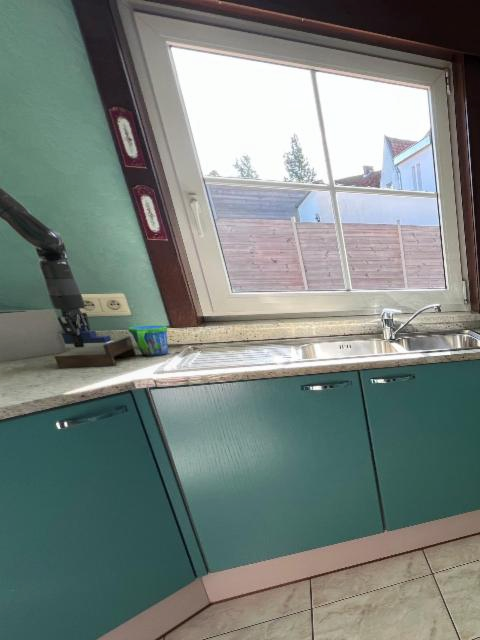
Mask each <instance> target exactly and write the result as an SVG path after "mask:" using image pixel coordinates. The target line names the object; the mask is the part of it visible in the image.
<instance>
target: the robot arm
mask: <svg viewBox="0 0 480 640" xmlns="http://www.w3.org/2000/svg"><path fill="white" fill-rule="evenodd" d="M0 220H2V221H3V222H4V223H6V224H7V225H8V226H10V227H11V229H12V230H14V231H15V233H16V234H18V235H19V236H20V237H21V238H23V239H24V240H25V241H26V242H28V244H30V245H31V246H33V247H34V248H35V251H36V254H37V257H38V267H39V270H40V274H41V276H42V278H43V283H44V287H45V290H46V293H47V296H48V299H49V300H50V303H51V306H52V308H53V309H55V310H60V311H61V312H60V313H61V316H58V317H57V320H58V322H59V325H60V326H61V328H62V330H63V332H65V334H66V335H69V336H71V338H72V341H73V344H74V346H75V347H74V348H79V347H84V344H83V341H82V338H81V336H80V331H91V327H90V322H89V318H88V314H87V312H82V311H81V309H85V308H86V304H85V301H84V298H83V296H82V292H81V290H80V287H79V284H78V283H77V280H76V279H75V275H74V272H73V270H72V268H71V265H70V261H69V259H68V253H67V248H66V245H65V241H64V239H63V237H62V236H61V234H60V233H59V232H58V231H56V230H55V229H54V228H51V227H48V226H47V225H45V224H44V223H43V222H41V220H39V219H38V218H36V216H34V215H33V214H32V213H31V211H30V210H29V209H28V208H27V207H26V206H25V205H23V203H21V202H20V201H18V200H17V198H15V197H14V196H13V195H11V193H9V192H8V191H6V189H4V188H3V187H1V186H0Z"/></svg>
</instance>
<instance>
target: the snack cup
mask: <svg viewBox="0 0 480 640" xmlns="http://www.w3.org/2000/svg"><path fill="white" fill-rule="evenodd" d="M167 331H168V327H167V326H166V325H159V324H155V325H154V324H152V325H151V324H149V325H136V326H131V327H128V332H129V333H130V334H131V335H132V337H133V339H134V341H135V343H136V345H137V347H138V349H139V351H140V353H141V354H142V356H145V357H146V356H147V357H154V356H155V357H158V356H164V355H167V354H168V353H169V345H168V334H167Z"/></svg>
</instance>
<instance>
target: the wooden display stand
mask: <svg viewBox="0 0 480 640" xmlns="http://www.w3.org/2000/svg"><path fill="white" fill-rule="evenodd" d="M112 341H113V342H110V343H108V344H105V345H103V346H100V347H75V348H72V349H70V350H67V351H65V352H61V353H60V354H57V355H54V359H55V362H56V365H57V367H58V369H71V368H97V367H98V368H99V367H113V366H114V367H115V366H116V365H117V364H116V361H115V357H136V356H137V353H136V350H135V347H134V345H133V340H132V338H131V336H130V335H126V336H124V337H121V338H118V339H116V340H112Z"/></svg>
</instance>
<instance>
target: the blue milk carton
mask: <svg viewBox="0 0 480 640" xmlns="http://www.w3.org/2000/svg"><path fill="white" fill-rule="evenodd" d="M80 336H81V338H82V341H83V344H84V347H100V346H103V345H105V344H108V343H110V342H113V341H114V340H112V339H111V336H110V335H98V334H97V333H96V330H90V331H80ZM61 337H62V339H63V343H64V347H65V348H66V349H68V348H70V349H71V348H72V349H73V348H76V347H75V346H74V344H73V341H72V338H71V336H69V335H66V334H65V332H64V331H63V332H61Z"/></svg>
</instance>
